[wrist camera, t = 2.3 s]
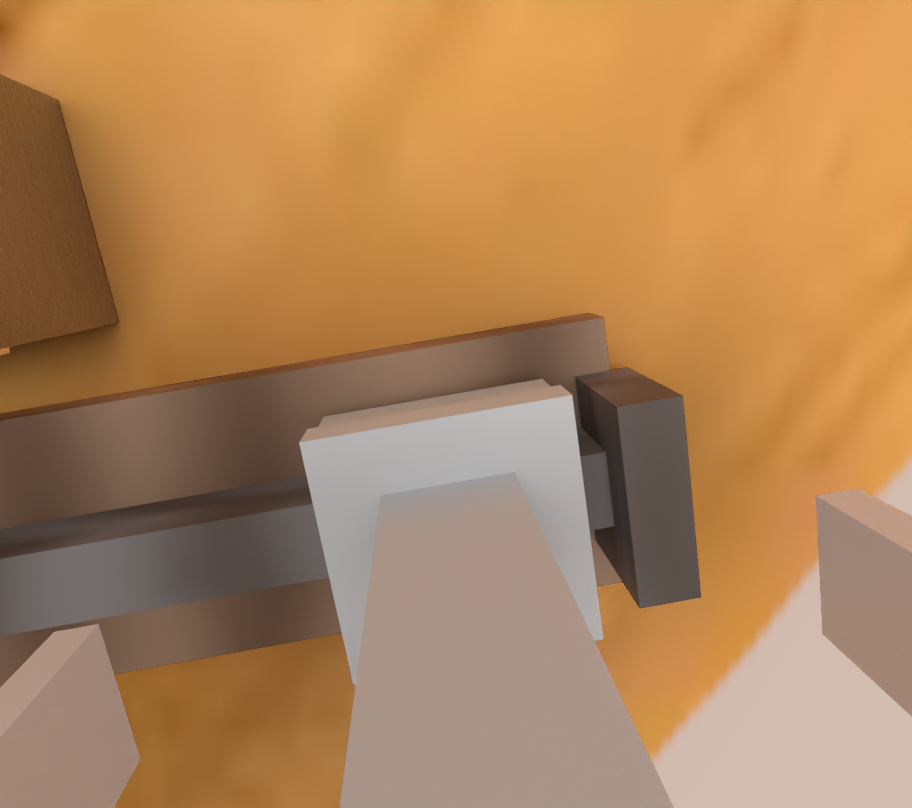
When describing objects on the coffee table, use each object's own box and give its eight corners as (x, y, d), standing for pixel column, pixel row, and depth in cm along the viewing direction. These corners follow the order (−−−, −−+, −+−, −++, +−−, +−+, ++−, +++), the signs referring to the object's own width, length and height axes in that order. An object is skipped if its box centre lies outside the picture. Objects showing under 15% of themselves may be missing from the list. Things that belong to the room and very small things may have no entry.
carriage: (364, 605, 19) (258, 1366, 6) (321, 405, 18) (69, 818, 5) (568, 569, 20) (901, 1233, 6) (540, 367, 18) (885, 665, 5)
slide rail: (-81, 684, 21) (-248, 828, 16) (-173, 443, 20) (-396, 514, 14) (634, 555, 22) (706, 652, 17) (606, 309, 20) (676, 329, 15)
